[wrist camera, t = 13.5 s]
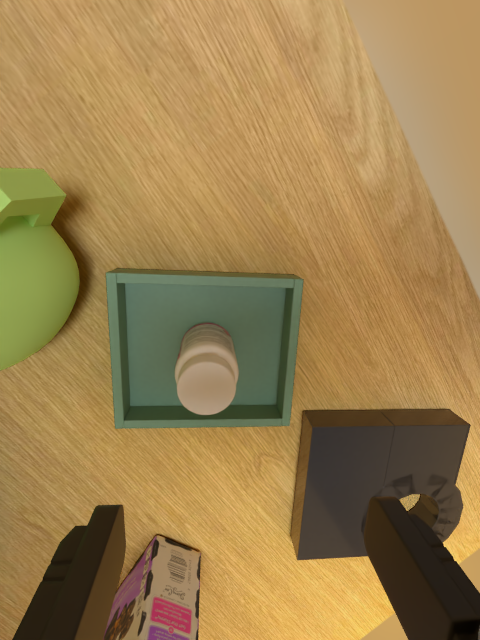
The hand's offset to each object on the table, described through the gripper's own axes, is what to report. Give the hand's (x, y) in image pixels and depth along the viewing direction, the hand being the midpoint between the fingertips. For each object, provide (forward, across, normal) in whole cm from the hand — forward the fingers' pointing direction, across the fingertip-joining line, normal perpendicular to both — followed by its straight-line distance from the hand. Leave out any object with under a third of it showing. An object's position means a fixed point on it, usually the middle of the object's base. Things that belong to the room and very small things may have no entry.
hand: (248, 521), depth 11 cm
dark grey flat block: (+21, -16, +16) cm, 31 cm away
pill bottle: (+20, +2, +1) cm, 20 cm away
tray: (+20, +2, +1) cm, 21 cm away
